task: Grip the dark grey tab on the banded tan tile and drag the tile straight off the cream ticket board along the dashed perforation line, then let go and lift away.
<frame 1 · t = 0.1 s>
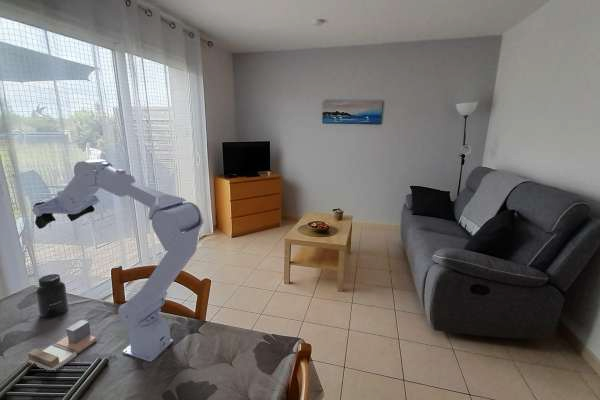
hand: (55, 221, 75), 32 cm above the table, tool tilted 50°, fingers open, 7 cm apart
banded tan tile: (76, 334, 74), point 3 cm above the table, slide at 0.0 cm
ticket board: (53, 359, 69), on the table
supplement bottle: (54, 312, 87), on the table
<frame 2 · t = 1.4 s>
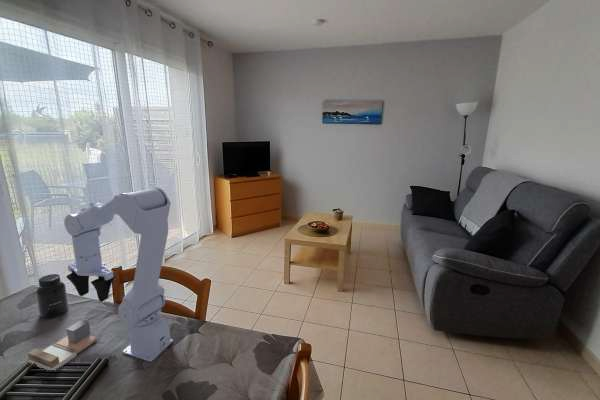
hand: (94, 296, 80), 9 cm above the table, tool pointing down, fingers open, 7 cm apart
nothing on the table moved.
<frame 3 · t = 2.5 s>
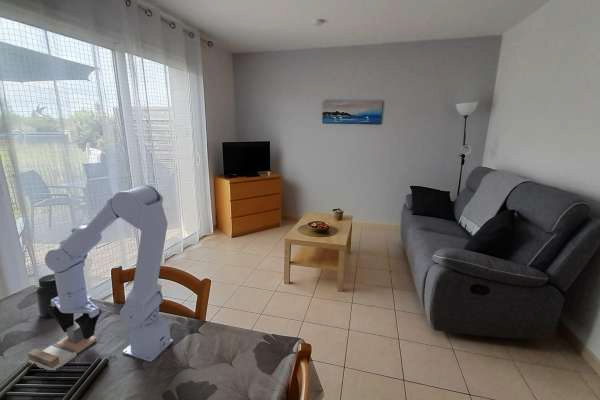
hand: (78, 333, 75), 3 cm above the table, tool pointing down, fingers open, 7 cm apart
nothing on the table moved.
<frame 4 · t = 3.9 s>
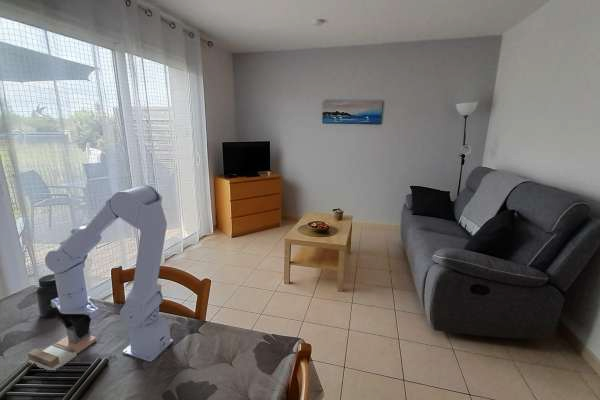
hand: (79, 334, 75), 2 cm above the table, tool pointing down, fingers closed on banded tan tile, 2 cm apart
banded tan tile: (76, 334, 74), point 3 cm above the table, slide at 0.0 cm, touching gripper
everything else where it was.
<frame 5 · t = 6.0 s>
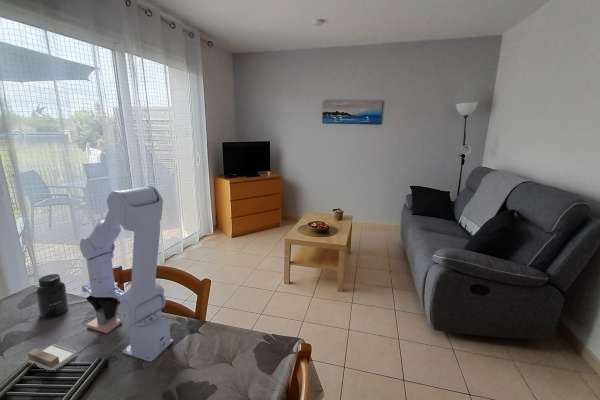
hand: (106, 316, 82), 2 cm above the table, tool pointing down, fingers closed on banded tan tile, 2 cm apart
banded tan tile: (104, 317, 81), point 3 cm above the table, slide at 8.0 cm, touching gripper
everything else where it was.
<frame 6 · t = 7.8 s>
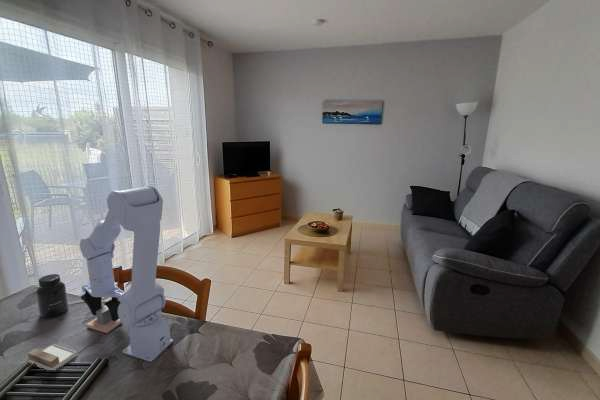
hand: (106, 316, 82), 2 cm above the table, tool pointing down, fingers open, 7 cm apart
banded tan tile: (104, 317, 81), point 3 cm above the table, slide at 8.0 cm
everything else where it was.
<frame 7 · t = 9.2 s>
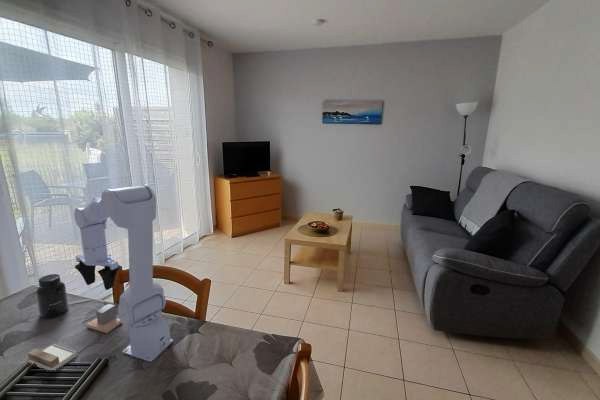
hand: (100, 285, 86), 9 cm above the table, tool pointing down, fingers open, 7 cm apart
nothing on the table moved.
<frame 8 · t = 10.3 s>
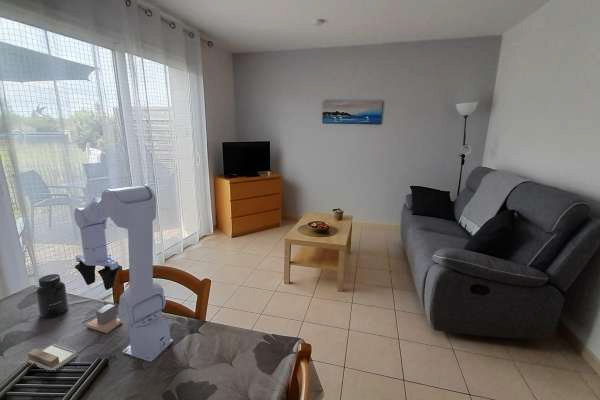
hand: (100, 285, 86), 9 cm above the table, tool pointing down, fingers open, 7 cm apart
nothing on the table moved.
at the end: banded tan tile slide at 8.0 cm; the gripper is holding nothing; supplement bottle moved 0.2 cm from its start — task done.
